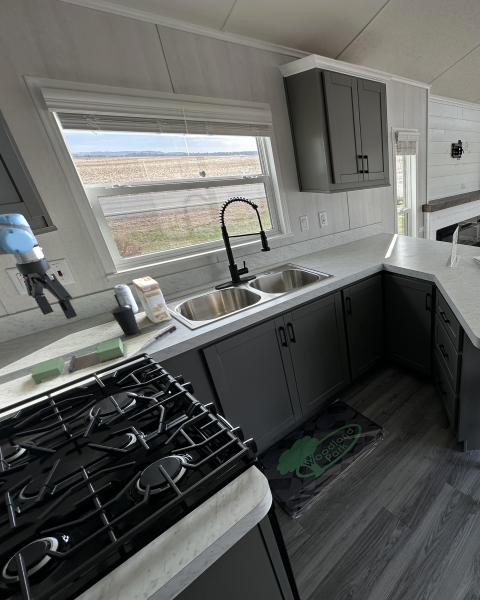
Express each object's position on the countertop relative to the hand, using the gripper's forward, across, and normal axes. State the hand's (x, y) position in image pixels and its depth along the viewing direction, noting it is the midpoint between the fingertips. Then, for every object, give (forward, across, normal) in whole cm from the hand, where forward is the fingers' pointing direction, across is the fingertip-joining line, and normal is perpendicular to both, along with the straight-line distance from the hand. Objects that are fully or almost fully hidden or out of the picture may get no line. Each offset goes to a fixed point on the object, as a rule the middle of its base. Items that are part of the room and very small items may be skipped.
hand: (60, 315), depth 121 cm
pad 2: (+19, -8, -6) cm, 22 cm away
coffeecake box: (+21, +5, -35) cm, 41 cm away
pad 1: (+21, +2, +10) cm, 23 cm away
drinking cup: (+21, +1, -20) cm, 29 cm away
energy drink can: (+21, +25, -36) cm, 48 cm away
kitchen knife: (+21, -15, -20) cm, 32 cm away
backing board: (+20, -5, -2) cm, 21 cm away
